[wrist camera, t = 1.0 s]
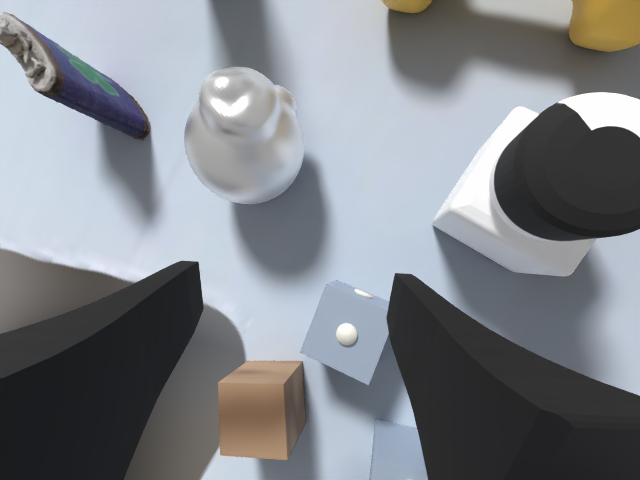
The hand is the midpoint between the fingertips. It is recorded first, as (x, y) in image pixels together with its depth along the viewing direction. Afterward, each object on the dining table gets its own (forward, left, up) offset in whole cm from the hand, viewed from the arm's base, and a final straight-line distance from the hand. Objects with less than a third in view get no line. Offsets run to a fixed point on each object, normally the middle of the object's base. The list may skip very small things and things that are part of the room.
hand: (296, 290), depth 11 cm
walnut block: (-11, +5, -15) cm, 19 cm away
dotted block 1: (-4, -1, -15) cm, 15 cm away
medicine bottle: (+6, -11, -15) cm, 19 cm away
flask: (+14, +25, -15) cm, 32 cm away
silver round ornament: (+9, +8, -15) cm, 19 cm away
